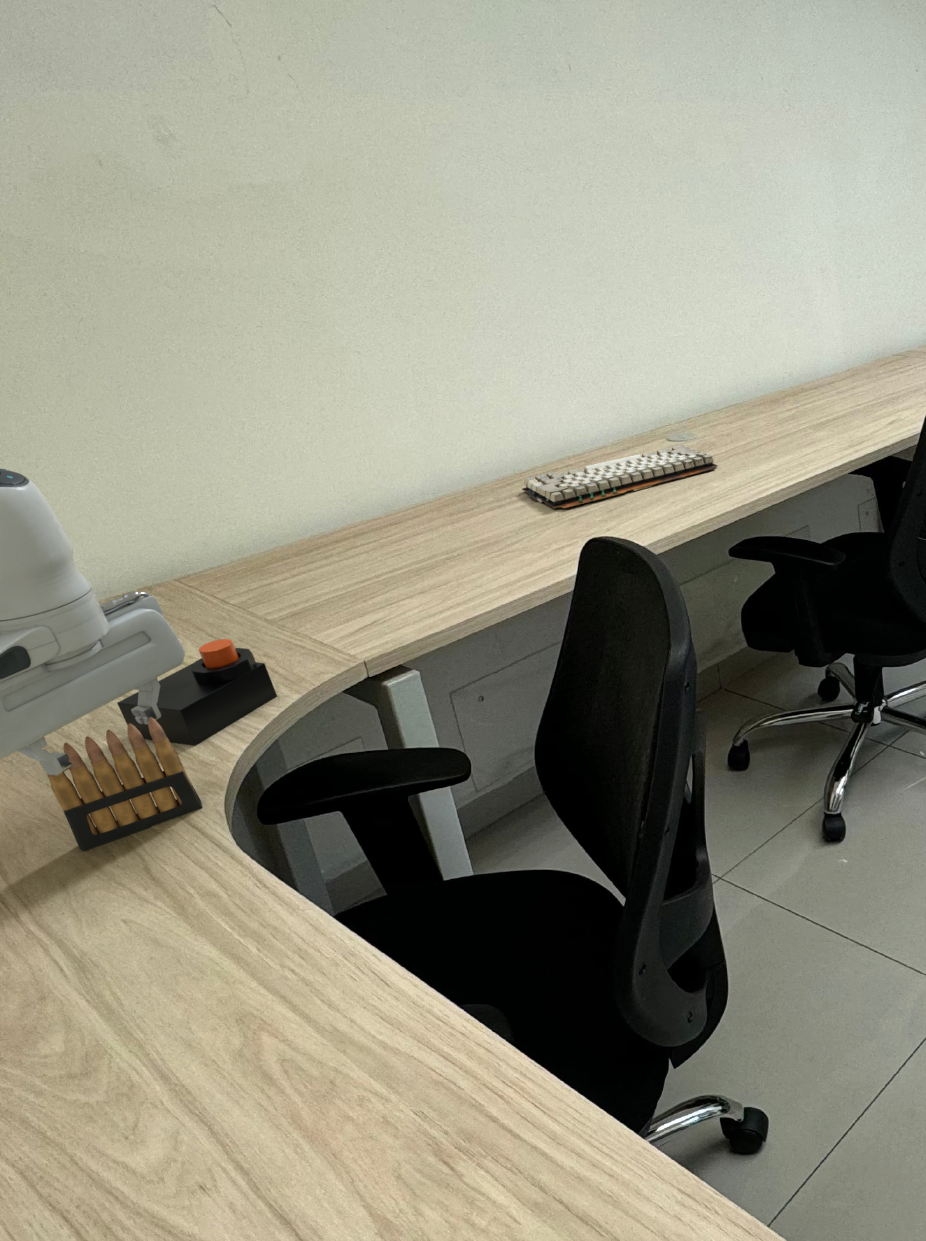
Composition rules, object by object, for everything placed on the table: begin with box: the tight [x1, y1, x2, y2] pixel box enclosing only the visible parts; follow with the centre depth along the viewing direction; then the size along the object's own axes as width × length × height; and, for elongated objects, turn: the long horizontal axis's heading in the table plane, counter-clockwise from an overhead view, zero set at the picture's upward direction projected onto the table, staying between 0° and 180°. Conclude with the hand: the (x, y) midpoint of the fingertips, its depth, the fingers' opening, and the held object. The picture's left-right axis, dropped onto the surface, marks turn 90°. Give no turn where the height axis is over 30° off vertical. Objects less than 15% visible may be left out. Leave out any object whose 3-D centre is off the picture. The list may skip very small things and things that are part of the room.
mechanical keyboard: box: [521, 444, 718, 509], centre depth 212 cm, size 38×19×3 cm, turn 133°
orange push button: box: [198, 638, 239, 668], centre depth 127 cm, size 4×4×3 cm
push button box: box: [116, 647, 278, 747], centre depth 127 cm, size 10×12×7 cm
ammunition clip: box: [44, 717, 203, 852], centre depth 105 cm, size 11×2×12 cm, turn 131°
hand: (107, 744), depth 103 cm, fingers open, 8 cm apart
